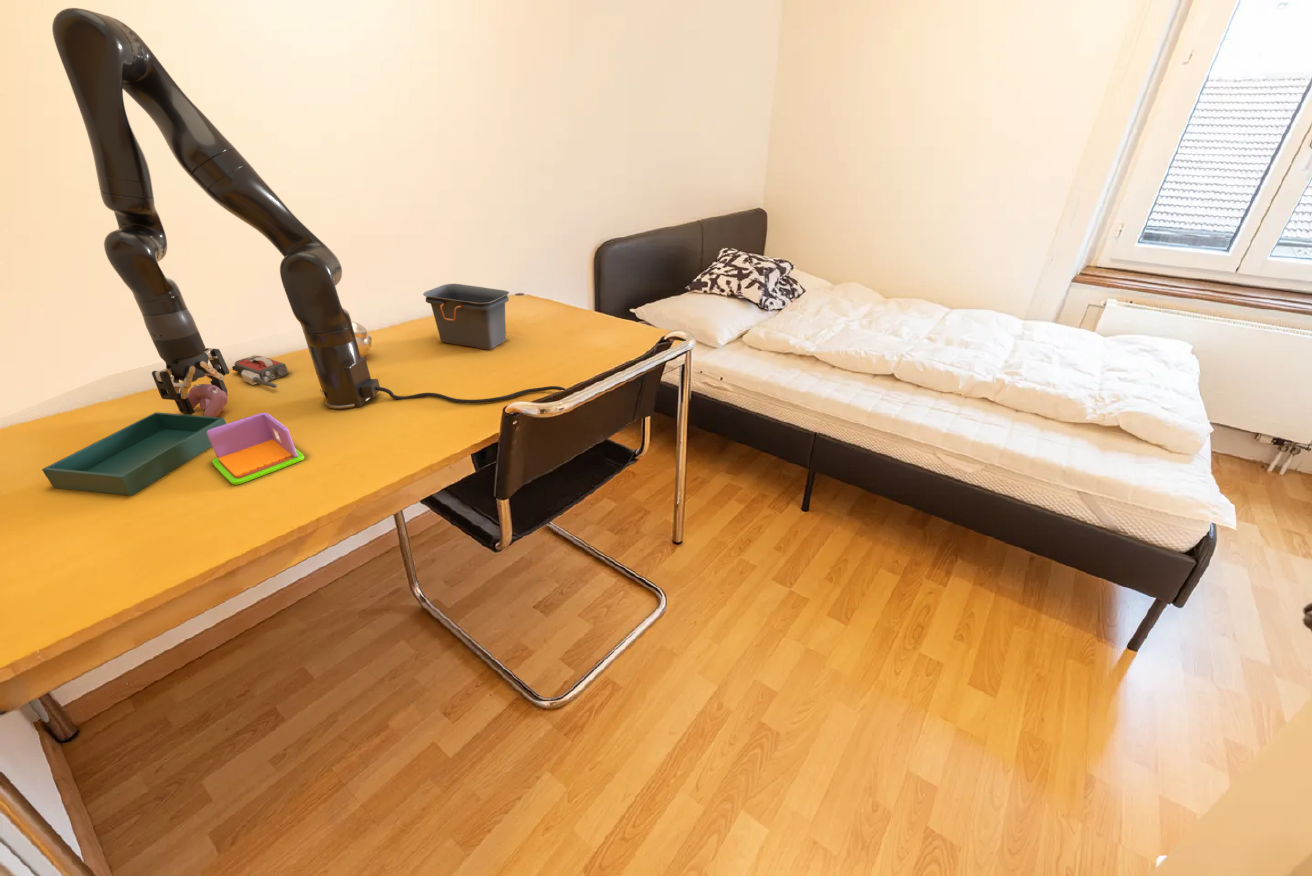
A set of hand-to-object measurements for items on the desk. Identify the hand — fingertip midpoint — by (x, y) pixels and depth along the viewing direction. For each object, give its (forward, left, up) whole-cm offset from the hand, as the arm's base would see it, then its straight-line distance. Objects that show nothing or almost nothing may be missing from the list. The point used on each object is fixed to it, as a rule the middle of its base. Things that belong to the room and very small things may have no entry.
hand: (206, 404), depth 120 cm
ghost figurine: (-13, -33, -2) cm, 36 cm away
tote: (-4, +19, -2) cm, 19 cm away
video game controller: (0, 0, -2) cm, 2 cm away
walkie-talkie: (+1, -18, -2) cm, 18 cm away
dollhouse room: (-25, +16, -2) cm, 30 cm away
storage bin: (-38, -49, -2) cm, 62 cm away
